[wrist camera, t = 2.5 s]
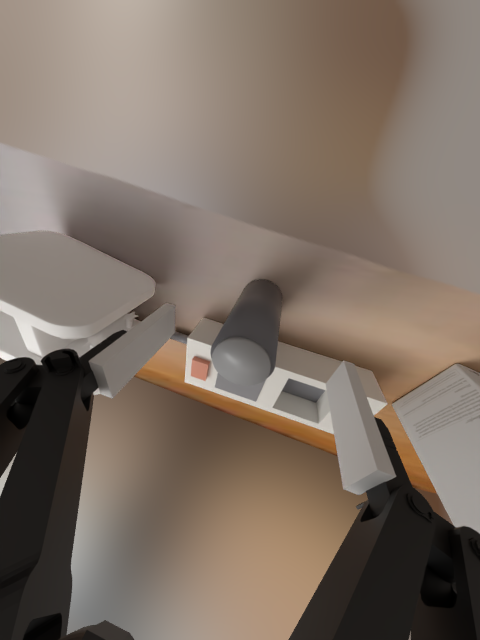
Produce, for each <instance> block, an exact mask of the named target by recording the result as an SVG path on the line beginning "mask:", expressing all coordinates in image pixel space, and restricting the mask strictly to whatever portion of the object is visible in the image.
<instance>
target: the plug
mask: <svg viewBox="0 0 480 640" xmlns="http://www.w3.org/2000/svg"><path fill="white" fill-rule="evenodd" d="M281 307H282V294H281V291H280V289H279V288H278V287H277V286H276V285H275V284H274V283H272V282H271V281H268V280H263V279H259V280H254V281H252V282H250V283H249V284H248V285H247V286H246V287H245V288H244V290H243V292H242V293H241V295H240V297H239V299H238V300H237V302H236V304H235V306H234V307H233V309H232V311H231V313H230V314H229V316H228V318H227V320H226V321H225V323H224V325H223V327H222V328H221V330H220V332H219V334H218V335H217V337H216V339H215V341H214V342H213V344H212V346H211V352H210V353H211V359H212V362H213V365H214V367H215V369H216V371H217V372H218V373H219V374H220V375H221V376H222V377H224V378H225V379H227V380H228V381H230V382H233V383H235V384H239V385H247V386H248V385H256V384H259V383H261V382H263V381H264V380H265V379H267V378H268V377H269V376H270V375H271V374H272V373H273V371H274V369H275V365H276V355H277V346H278V336H279V327H280V317H281Z"/></svg>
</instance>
